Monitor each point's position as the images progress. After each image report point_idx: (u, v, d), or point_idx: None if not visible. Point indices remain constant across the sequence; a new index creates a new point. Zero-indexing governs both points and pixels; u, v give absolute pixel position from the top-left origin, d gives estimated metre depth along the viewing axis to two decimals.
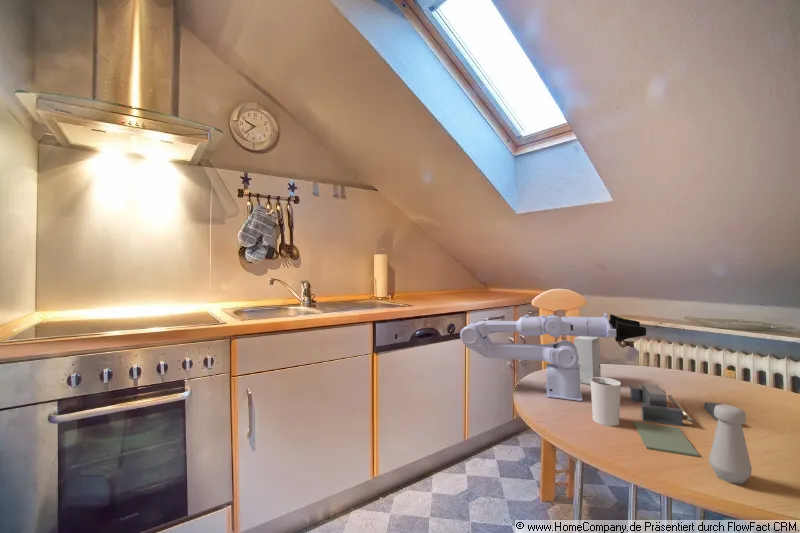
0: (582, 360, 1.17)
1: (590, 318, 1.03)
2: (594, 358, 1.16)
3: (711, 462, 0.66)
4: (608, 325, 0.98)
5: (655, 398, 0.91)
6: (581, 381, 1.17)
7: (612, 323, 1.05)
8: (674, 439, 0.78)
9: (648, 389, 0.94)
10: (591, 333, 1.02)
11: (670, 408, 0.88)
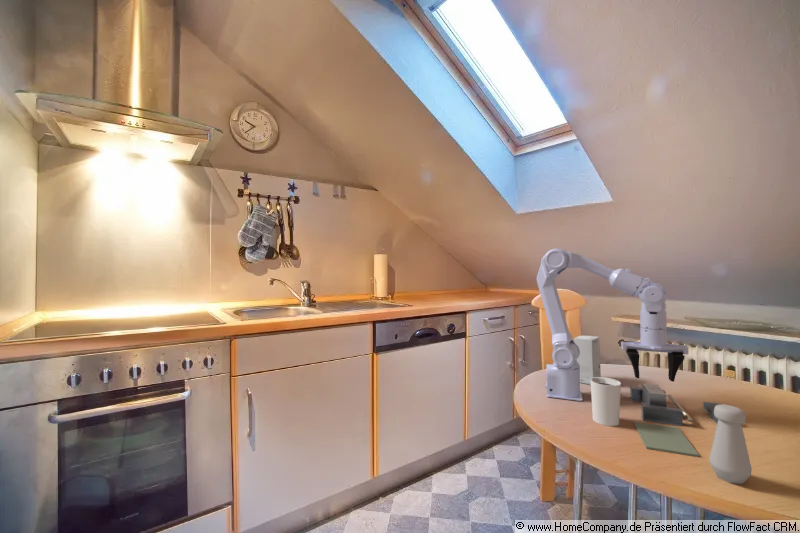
0: (581, 360, 1.17)
1: (651, 332, 0.93)
2: (594, 358, 1.16)
3: (711, 462, 0.66)
4: (633, 345, 0.95)
5: (655, 398, 0.91)
6: (581, 381, 1.17)
7: (670, 354, 0.93)
8: (674, 439, 0.78)
9: (648, 389, 0.94)
10: None
11: (670, 408, 0.88)
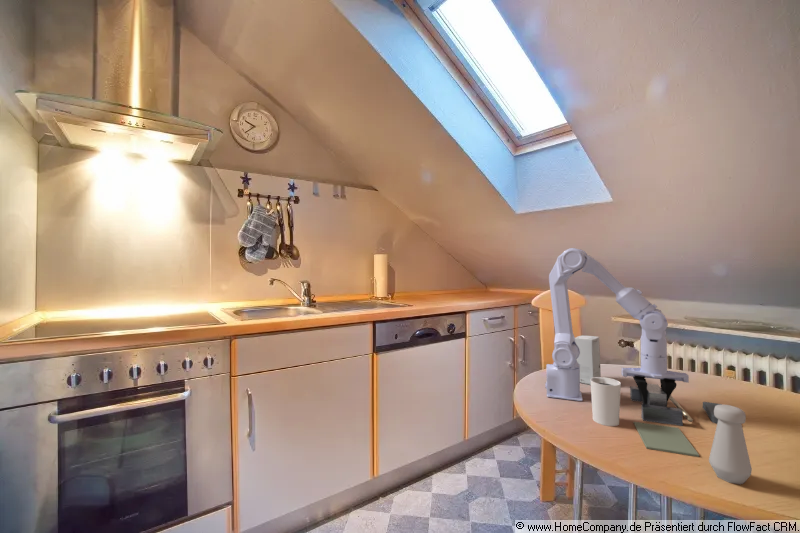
0: (581, 360, 1.17)
1: (651, 359, 0.93)
2: (594, 358, 1.16)
3: (711, 462, 0.66)
4: (634, 372, 0.95)
5: (655, 398, 0.91)
6: (581, 381, 1.17)
7: (663, 381, 0.94)
8: (674, 439, 0.78)
9: (648, 389, 0.94)
10: None
11: (670, 408, 0.88)
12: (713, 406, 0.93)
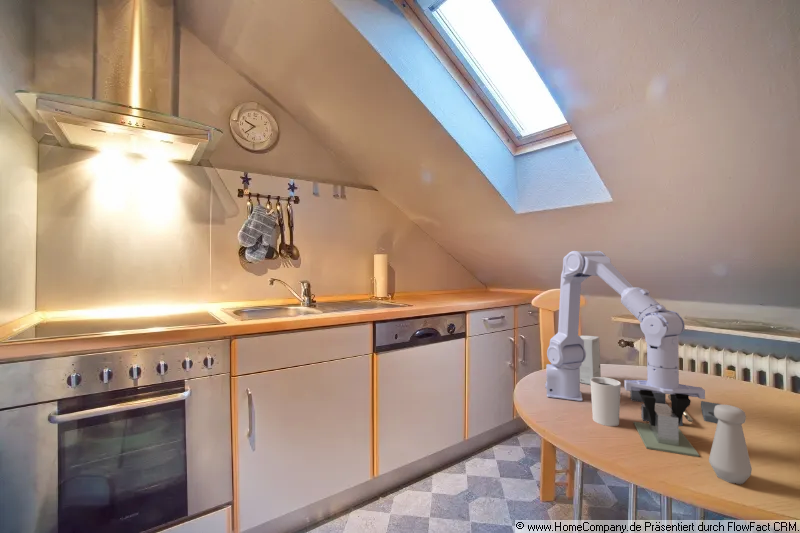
0: None
1: (660, 371, 0.78)
2: (594, 358, 1.16)
3: (711, 462, 0.66)
4: (639, 386, 0.80)
5: (664, 421, 0.77)
6: (581, 381, 1.17)
7: (674, 397, 0.79)
8: None
9: (656, 410, 0.80)
10: None
11: None
12: (710, 405, 0.94)
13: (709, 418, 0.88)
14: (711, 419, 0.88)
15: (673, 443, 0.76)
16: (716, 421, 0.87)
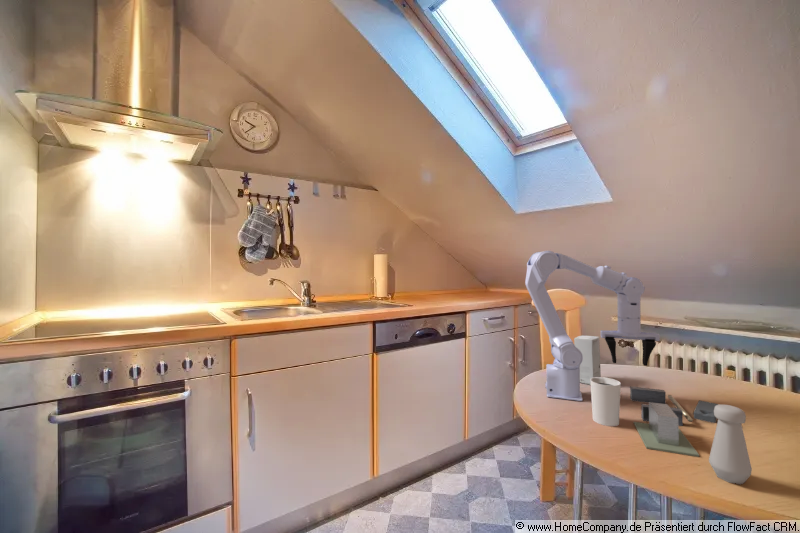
0: None
1: (626, 321, 1.02)
2: (594, 358, 1.16)
3: (711, 462, 0.66)
4: (611, 333, 1.05)
5: (664, 421, 0.77)
6: (581, 381, 1.17)
7: (644, 341, 1.03)
8: None
9: (656, 410, 0.80)
10: None
11: None
12: (705, 404, 0.94)
13: (698, 415, 0.89)
14: (700, 417, 0.89)
15: (673, 443, 0.76)
16: (705, 419, 0.88)
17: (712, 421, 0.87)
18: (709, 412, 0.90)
